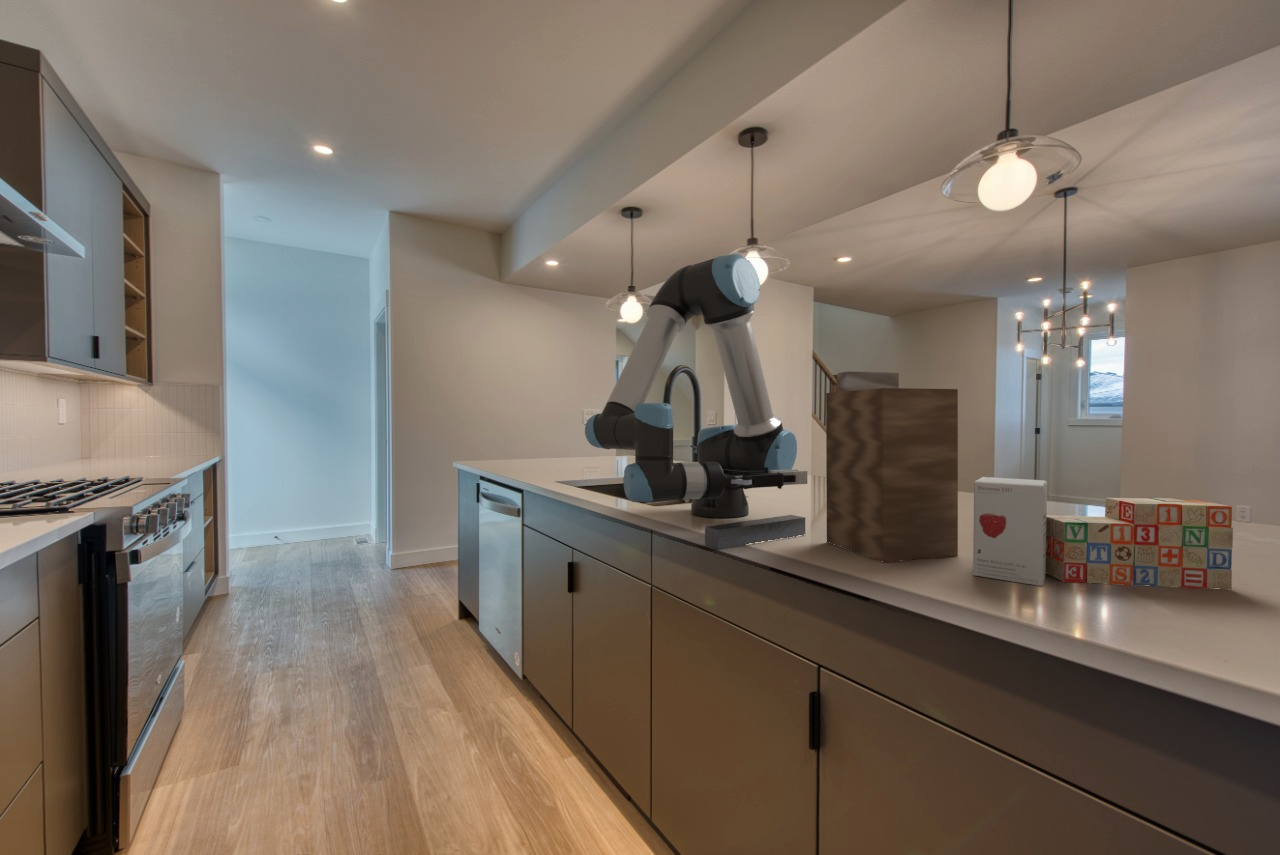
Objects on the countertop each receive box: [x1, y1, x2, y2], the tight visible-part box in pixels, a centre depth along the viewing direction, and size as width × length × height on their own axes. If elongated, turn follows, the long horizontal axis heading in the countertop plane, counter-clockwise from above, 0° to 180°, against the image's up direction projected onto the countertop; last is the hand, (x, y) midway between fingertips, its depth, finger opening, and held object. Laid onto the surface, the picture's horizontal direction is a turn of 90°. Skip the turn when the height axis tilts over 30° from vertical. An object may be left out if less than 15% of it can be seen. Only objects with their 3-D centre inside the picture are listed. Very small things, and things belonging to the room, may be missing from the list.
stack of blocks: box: [1046, 497, 1234, 590], centre depth 80 cm, size 21×6×12 cm, turn 79°
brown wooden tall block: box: [825, 371, 959, 563], centre depth 101 cm, size 16×16×34 cm
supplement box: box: [972, 476, 1048, 587], centre depth 83 cm, size 9×9×15 cm
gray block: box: [704, 514, 806, 551], centre depth 109 cm, size 4×24×4 cm
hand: (801, 476), depth 114 cm, fingers open, 3 cm apart
